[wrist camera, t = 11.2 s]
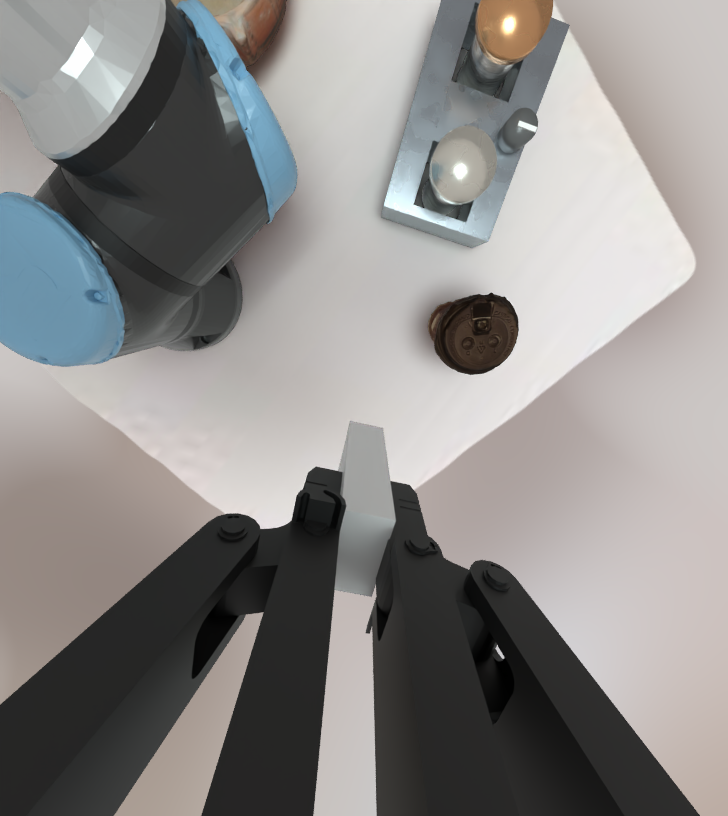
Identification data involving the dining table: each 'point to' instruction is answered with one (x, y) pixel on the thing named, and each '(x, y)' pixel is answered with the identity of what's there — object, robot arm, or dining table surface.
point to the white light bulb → (459, 169)
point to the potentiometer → (517, 130)
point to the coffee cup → (474, 332)
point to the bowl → (247, 23)
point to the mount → (464, 123)
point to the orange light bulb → (502, 40)
